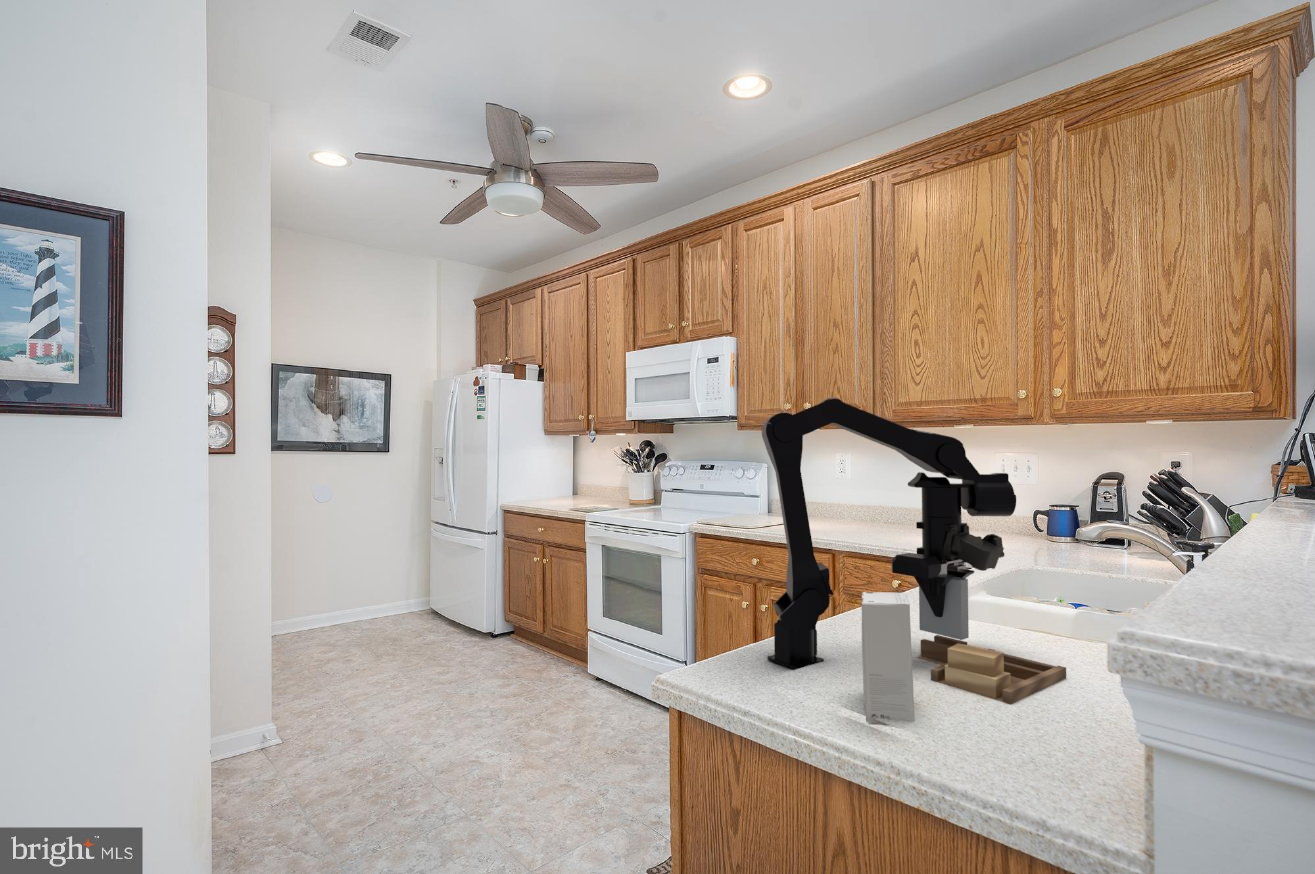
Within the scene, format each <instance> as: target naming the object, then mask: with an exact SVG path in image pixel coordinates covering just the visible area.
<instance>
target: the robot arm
mask: <svg viewBox="0 0 1315 874" xmlns="http://www.w3.org/2000/svg"><path fill="white" fill-rule="evenodd" d="M829 425H832V426H835V427H837V428H840V429H841V430H845V431H847V432H849V433H853V434H855V435H857V436H859V437H862V438H864V439H866V440H870V441H872V442H874V443H877V444H879V445H881V446H885V447H887V448H889V449H891V450H894V451H896V452H897V453H900V454H901V455H902V456H903V457H905V458H906V459H907V460H908V461H909V462H911V463H913V464H914V465H917V466H918V467H919V468H921V469H922V470H924V471H927V472H929V473H935V474H941V475H943V476H927V474H926V473H925V472H923V471H922V472H921V471H919V472H917V473H916V475H915V477H913V478H912V479H911V480H910V481H908V482H907V486H908V487H911V488H916V489H917V488H921V521H916V522H915V523H916V529H920V530H921V538H922V540H921V542H922V543H921V544H922V546H921V547H916V553H913V552H911V553H910V552H906V553H902V554H901V553H900V554H895V556H894V557H893V558H892V559H891V560H890V561H891V565H890V566H891V573H892V574H897V575H903V576H909V577H913V578H914V579H915V581H916V583H917V584H918V587H919V586H920V588H921V590H922V591H923V593H924V595H925V597H926V599H927V601H928V603H929V605H930V607H931V609H932V611H933V613H934V615H935V616H936V617H942V616H943V610H944V601H945V590H946V584H947V583H948V582H949V581H950V580H951V579H952V578H953V577H959V578H965V579H968V577H970V576H971V575H973V574H974V573H975V570H972V569H967V564H969V565H971V567H972V568H973V569H976V570H978V571H982V572H983V571H987V570H990V569H992V570H995V569H996V567H997V565H998V561H999V559H1001V558H1004V557H1005V552H1004V549H1005V548H1004V546H1003V545H1004V544H1003V540H1002V537H1001V536H999V535H997V534H994V533H990V534H989V533H988V534H986V535H985V536H984V537H982V536H975V535H973V534H971V533H970V526H969V525H968V522H962V509H963V510H965V511H966V512H967V513H968V515H969V516H971V517H1011V516H1012V515H1013V514H1014V512H1015V510H1016V508H1017V507H1016V506H1017V495H1016V494H1015V490H1014V487H1013V485H1012V483H1011V482H1010V481H1009V473H1007V472H994V473H987V474H985V473H982V474H980V472H979V471H978V470H977V469H976V467H975V466H974V465H973V464H972V462H971V461H970V460H969V458H968V457H967V455H966V452H967V451H966V450H965V447H964V444H963V443H962V441H960V440H959V439H957V438H955V437H953V436H948V435H945V434H944V435H943V434H939V433H934V432H930V431H923V430H918V429H916V430H915V429H914V428H913V429H912V428H909V427H906V426H903V425H901V424H898V423H896V422H893V421H891V420H889V419H886V418H884V417H881V416H879V415H876V414H873V413H871V412H870V411H869V412H868V411H866V410H863V409H861V408H858V407H857V406H853V405H851V404H849V403H846V402H844V401H843V400H841V399H840V398H837V397H828V398H827V399H826V398H825V399H824V400H822V401H820V402H819V403H818V404H816V405H815V404H814V405H813V406H810V407H808V408H805V409H803V410H800V411H798V412H796V413H793V414H792V413H789V412H778V413H776V414H774V415H772V416H770V417H769V418H767V419H766V420H765V421H764V423H763V425H762V427H761V437H762V441H763V443H764V446H765V450H766V453H767V455H768V457H769V460H770V461H771V462H770V463H771V464H772V466H773V469H774V471H775V477H776V484H777V490H778V496H779V503H780V508H781V515H782V516H781V517H782V521H783V529H784V534H785V541H786V548H787V553H788V560H787V569H786V590H785V592H784V593H783V594H782V595H781V596H780V597H779V598H778V599H776V601H774V603H773V608H774V611H775V614H776V616H777V617H778V620H777V621H776V622H774V625H773V630H774V631H773V632H774V635H773V636H774V637H773V638H774V640H773V641H774V654H771V655H768V656H767V661H770V662H772V663H776V664H779V665H782V666H784V667H787V668H790V669H792V670H794V671H795V670H799V669H802V668H806V667H809V666H813V665H816V664H819V663H824V662H825V658H822V657H819V656H818V630H817V629H816V628H817V627H816V626H817V623H818V621H819V618H820V616H821V615H823V614H824V613H826V610H828V608H829V607H830V601H831V600H830V599H831V598H830V597H831V596H833V595H834V592H833V590H832V589H831V585H830V569H829V568H828V567H827V566H826V565H825V564H824V563H823V562H821V561H820V562H817V559H816V556H815V552H814V546H813V545H814V544H813V539H812V534H811V528H810V521H809V515H808V510H807V509H808V508H807V501H806V495H805V490H804V483H803V478H802V477H803V475H802V470H801V467H802V466H801V465H802V457H803V450H804V449H803V447H804V445H803V441H804V436H805V435H808V434H810V433H812V432H814V431H815V432H816V431H817V430H820V429H822V428H824V427H826V426H829ZM949 479H955V480H961V483H956V482H955V483H953V482H951V483H950V480H949ZM965 563H966V564H965Z"/></svg>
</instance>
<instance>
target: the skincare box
mask: <svg viewBox="0 0 1315 874" xmlns="http://www.w3.org/2000/svg"><path fill="white" fill-rule="evenodd" d="M861 594H862V595H861V660H862V662H861V663H862V686H863V701H864V702H863V703H864V709H865V722H866V723H868V724H877V725H879V724H880V725H886V726H890V724H888V723H885V722H884V721H883V722H882V721H881V720H878V719H875V718H880V719H886V720H894V721H896V720H897V721H906V722H915V721H916V720H915V719H916V718H915V717H916V716H915V699H914V698H915V697H914V677H913V676H914V673H913V656H912V634H911V633H912V631H911V606H910V600H909V598H908V595H907V593H905V592H887V591H886V592H883V591H882V592H881V591H879V592H876V591H863V592H862V593H861Z"/></svg>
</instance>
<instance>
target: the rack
mask: <svg viewBox="0 0 1315 874" xmlns="http://www.w3.org/2000/svg"><path fill="white" fill-rule="evenodd" d="M988 649H989V650H994V651H996V650H995V649H991V648H988ZM1003 654H1004V672H1007V673H1010V674H1011V686H1010V687H1008V688H1006V689H1003V690H1002V691H1003V696H1001V697H999V698H997V699H994V698H991V697H988V696H984V695H981V694H978V693H975V692H971V691H968V690H965V689H961V688H958V687H955V686H951V685H948V684H945V665H948V663H947V664H944V665H941V664H940V665H938V666H936V667H933V668H931V669H930V681H933V682H935V683H939V684H943V685H946V686H949V687H952V688H955V689H959V690H961V691H965V692H969V693H972V694H975V695H979V696H981V697H984V698H988V699H992V700H995V701H998V702H1001V703H1005V704H1008V705H1012V704H1015V703H1017V702H1019V701H1021V700H1023V699H1026V698H1027V697H1030V696H1032V695H1034V694H1035V693H1038V692H1040V691H1043V690H1045V689H1047V688H1049V687H1051V686H1053V685H1055V684H1057V683H1060V682H1062V681H1064V680H1066V679H1067V667H1066V666H1062V665H1052V664H1048V663H1045V662H1040V661H1036V660H1031V659H1027V658H1024V657H1020V656H1015V655H1011V654H1006V653H1005V652H1003Z"/></svg>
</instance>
